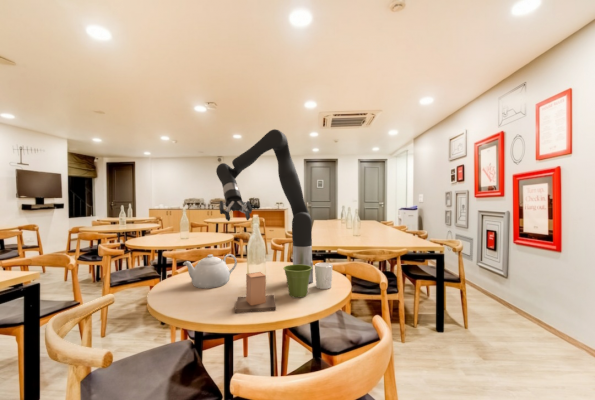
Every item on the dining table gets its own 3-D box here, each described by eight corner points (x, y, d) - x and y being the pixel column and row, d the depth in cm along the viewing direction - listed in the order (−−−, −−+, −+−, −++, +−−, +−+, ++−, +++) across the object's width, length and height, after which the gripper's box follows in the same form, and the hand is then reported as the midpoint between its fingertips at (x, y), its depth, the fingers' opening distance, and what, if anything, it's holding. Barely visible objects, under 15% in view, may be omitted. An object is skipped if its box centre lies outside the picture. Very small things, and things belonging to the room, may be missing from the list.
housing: (260, 297, 100) (260, 271, 100) (265, 302, 95) (265, 275, 95) (246, 300, 97) (246, 273, 97) (251, 305, 92) (250, 277, 92)
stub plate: (273, 297, 103) (273, 283, 103) (275, 310, 91) (275, 294, 91) (237, 300, 101) (237, 285, 101) (235, 312, 89) (235, 296, 89)
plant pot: (314, 291, 111) (314, 264, 111) (309, 301, 99) (308, 272, 99) (288, 289, 114) (288, 263, 114) (279, 298, 102) (279, 270, 102)
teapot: (221, 290, 112) (221, 259, 112) (182, 288, 115) (182, 258, 115) (237, 278, 130) (237, 251, 130) (203, 276, 133) (203, 250, 133)
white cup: (321, 291, 111) (320, 267, 111) (311, 285, 118) (311, 263, 118) (336, 288, 115) (336, 265, 115) (326, 283, 122) (326, 261, 122)
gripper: (218, 188, 118) (223, 214, 108) (248, 188, 125) (256, 213, 115) (215, 199, 123) (221, 225, 113) (244, 199, 130) (252, 224, 119)
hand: (238, 219), depth 114 cm, fingers open, 8 cm apart
